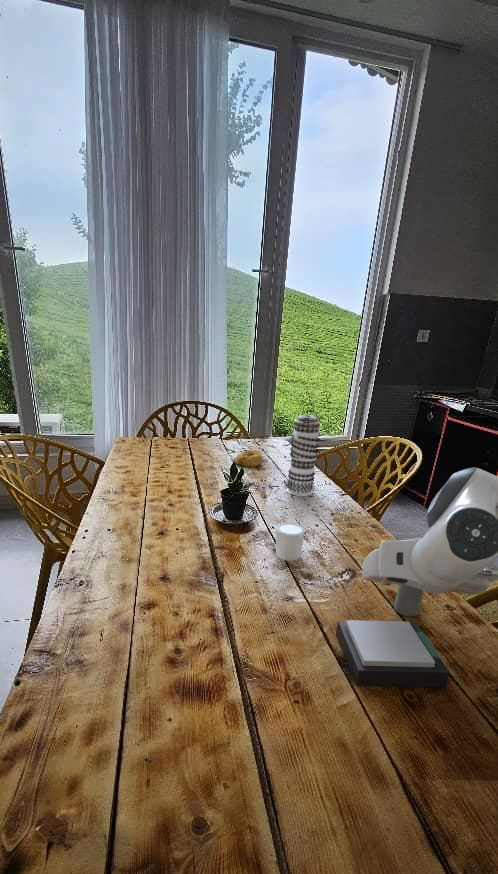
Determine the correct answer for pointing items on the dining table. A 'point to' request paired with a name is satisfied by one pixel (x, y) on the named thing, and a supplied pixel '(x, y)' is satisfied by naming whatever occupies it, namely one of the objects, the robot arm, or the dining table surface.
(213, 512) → the dining table surface
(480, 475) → the robot arm
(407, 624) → the scale
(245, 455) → the bagel
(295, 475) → the banded tower model
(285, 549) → the white short cylinder
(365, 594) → the dining table surface
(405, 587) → the grey hollow tube
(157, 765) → the dining table surface
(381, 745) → the dining table surface
